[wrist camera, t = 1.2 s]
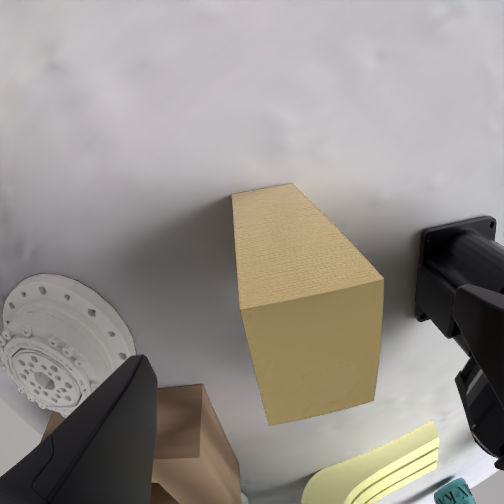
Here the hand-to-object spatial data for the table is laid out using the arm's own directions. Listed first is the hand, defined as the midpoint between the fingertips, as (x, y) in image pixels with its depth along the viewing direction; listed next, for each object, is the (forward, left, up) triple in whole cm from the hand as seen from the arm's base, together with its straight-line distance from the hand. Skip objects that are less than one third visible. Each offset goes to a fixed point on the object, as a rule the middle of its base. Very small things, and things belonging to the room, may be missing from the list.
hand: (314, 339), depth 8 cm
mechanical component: (+14, +5, -9) cm, 18 cm away
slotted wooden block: (+12, +16, -9) cm, 22 cm away
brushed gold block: (0, 0, -9) cm, 9 cm away
